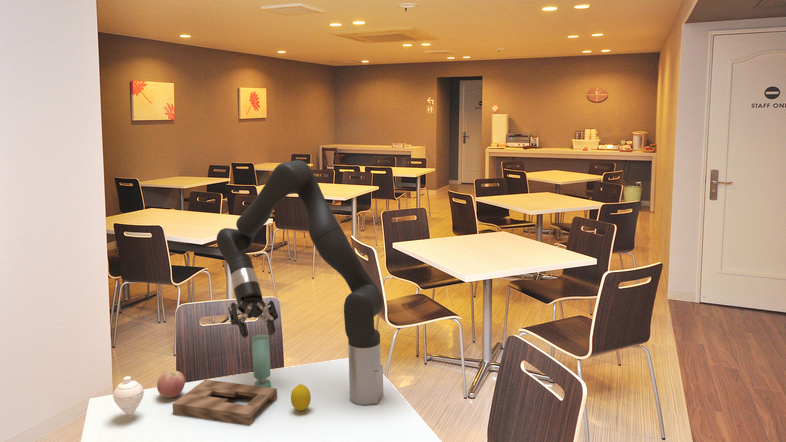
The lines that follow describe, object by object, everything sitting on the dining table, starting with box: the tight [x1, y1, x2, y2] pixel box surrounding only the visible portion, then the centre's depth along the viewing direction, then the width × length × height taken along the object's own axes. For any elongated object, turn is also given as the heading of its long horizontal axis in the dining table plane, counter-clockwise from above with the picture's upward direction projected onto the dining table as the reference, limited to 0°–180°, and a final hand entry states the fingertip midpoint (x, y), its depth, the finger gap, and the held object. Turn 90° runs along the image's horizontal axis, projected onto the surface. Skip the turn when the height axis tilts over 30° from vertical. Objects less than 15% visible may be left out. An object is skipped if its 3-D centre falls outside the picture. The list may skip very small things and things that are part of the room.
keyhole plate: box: [172, 379, 278, 426], centre depth 171 cm, size 24×16×3 cm, turn 74°
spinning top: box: [112, 375, 145, 419], centre depth 164 cm, size 8×8×12 cm
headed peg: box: [251, 333, 272, 388], centre depth 182 cm, size 5×5×16 cm
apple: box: [156, 369, 186, 399], centre depth 176 cm, size 8×8×8 cm
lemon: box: [290, 383, 312, 412], centre depth 167 cm, size 6×6×8 cm
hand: (259, 335), depth 173 cm, fingers open, 8 cm apart
